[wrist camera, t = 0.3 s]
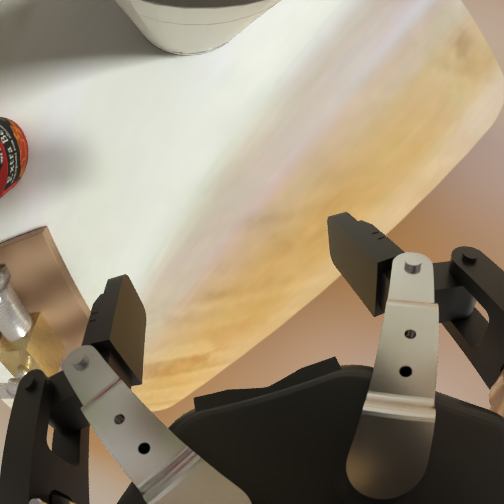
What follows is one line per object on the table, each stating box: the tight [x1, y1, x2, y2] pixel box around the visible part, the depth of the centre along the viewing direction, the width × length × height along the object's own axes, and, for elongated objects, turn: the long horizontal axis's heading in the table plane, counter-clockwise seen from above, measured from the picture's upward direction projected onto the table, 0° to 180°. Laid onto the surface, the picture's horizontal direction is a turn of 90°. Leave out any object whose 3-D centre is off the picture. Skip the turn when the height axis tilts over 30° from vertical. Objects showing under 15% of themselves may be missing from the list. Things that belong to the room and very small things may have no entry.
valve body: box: [0, 264, 64, 380], centre depth 27 cm, size 20×6×9 cm, turn 9°
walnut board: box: [0, 226, 91, 362], centre depth 31 cm, size 24×17×2 cm
